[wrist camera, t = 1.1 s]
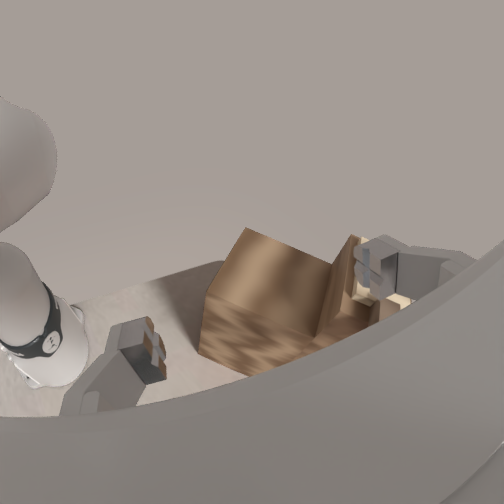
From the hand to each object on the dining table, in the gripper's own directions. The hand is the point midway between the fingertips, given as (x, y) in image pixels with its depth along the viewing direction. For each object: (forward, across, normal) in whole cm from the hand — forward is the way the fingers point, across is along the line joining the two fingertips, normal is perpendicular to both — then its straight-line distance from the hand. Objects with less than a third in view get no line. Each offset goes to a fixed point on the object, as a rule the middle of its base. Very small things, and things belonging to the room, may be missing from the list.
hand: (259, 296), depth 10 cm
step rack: (+27, -3, +31) cm, 41 cm away
